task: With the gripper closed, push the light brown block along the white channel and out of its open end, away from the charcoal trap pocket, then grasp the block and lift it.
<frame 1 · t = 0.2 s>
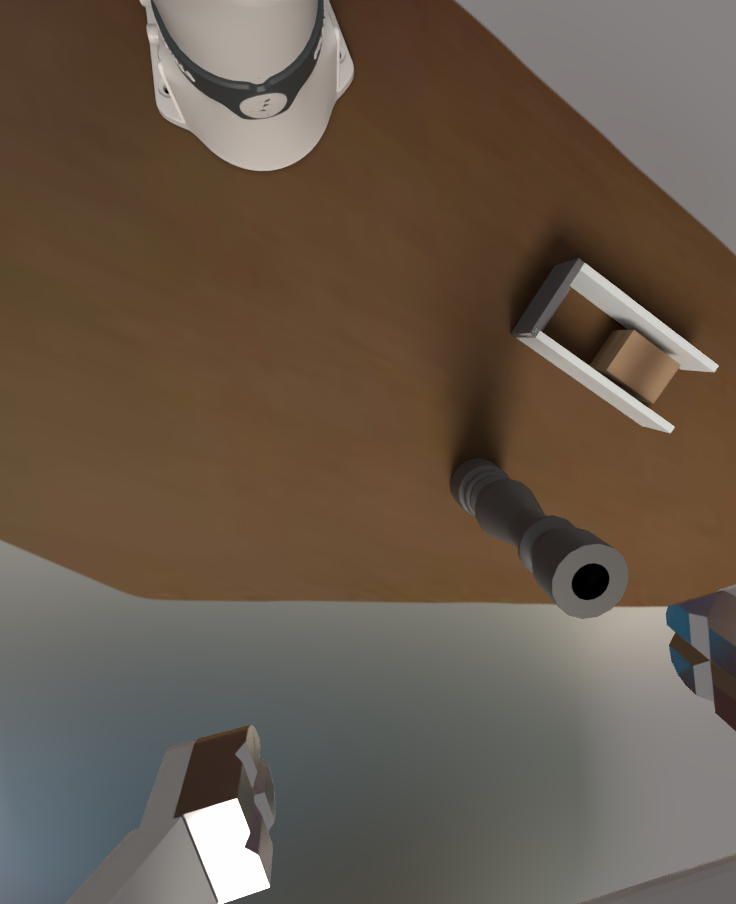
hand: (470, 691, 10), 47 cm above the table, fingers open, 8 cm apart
white channel: (600, 349, 58), on the table
candle holder: (475, 483, 60), on the table
light brown block: (621, 365, 59), resting in white channel
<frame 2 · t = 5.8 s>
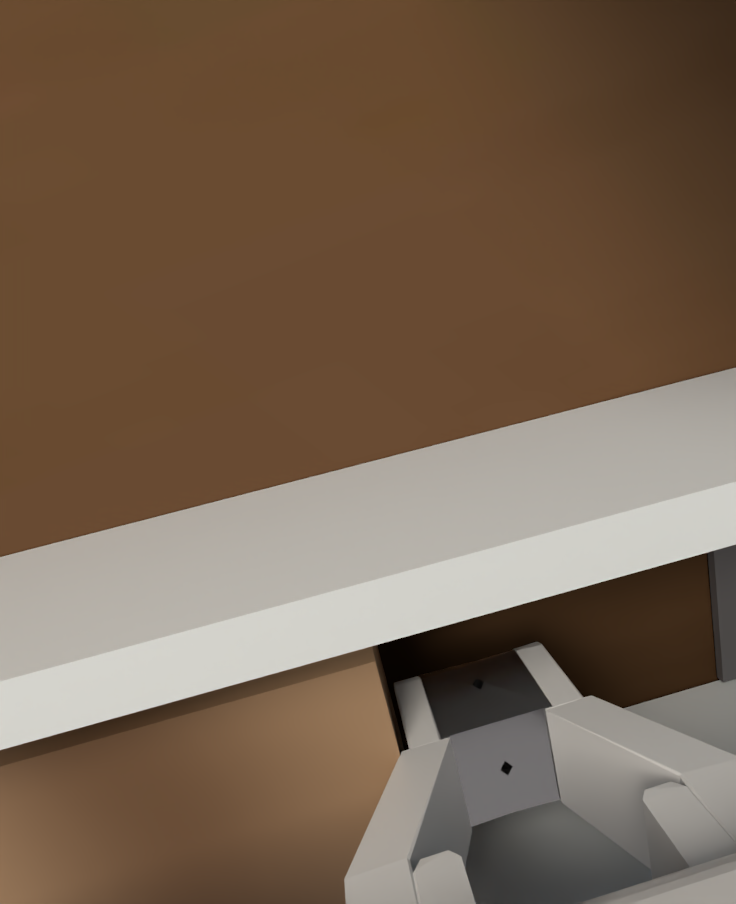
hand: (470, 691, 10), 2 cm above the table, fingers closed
white channel: (418, 637, 12), on the table
light brown block: (226, 688, 11), resting in white channel, touching gripper
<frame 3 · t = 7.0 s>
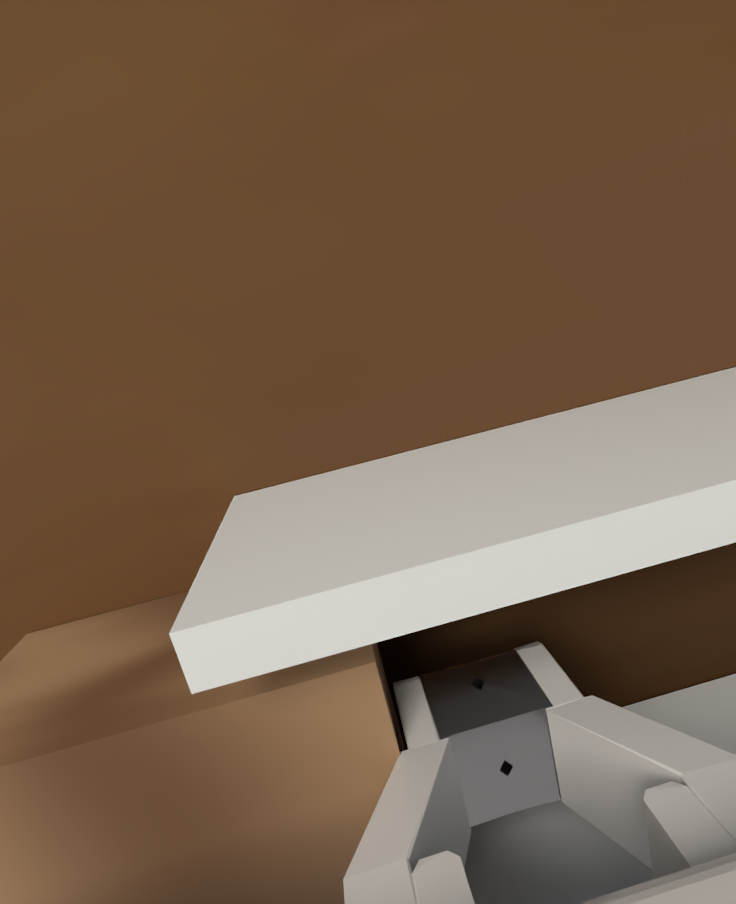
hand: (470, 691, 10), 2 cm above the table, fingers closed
white channel: (701, 557, 12), on the table
light brown block: (227, 688, 11), on the table, touching gripper
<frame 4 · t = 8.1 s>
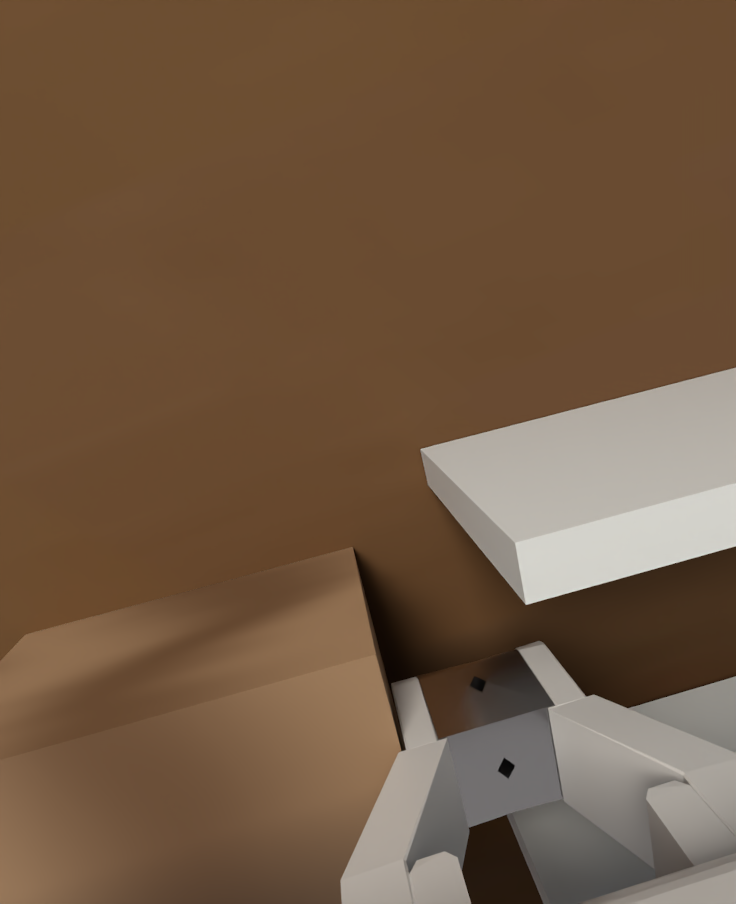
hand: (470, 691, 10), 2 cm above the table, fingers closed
light brown block: (228, 682, 12), on the table, touching gripper
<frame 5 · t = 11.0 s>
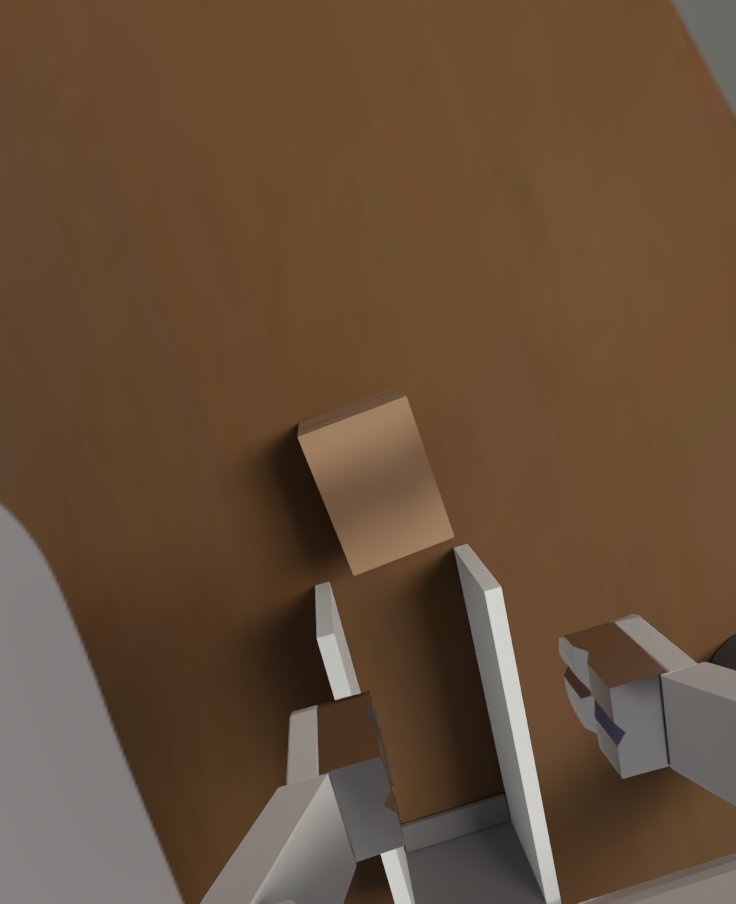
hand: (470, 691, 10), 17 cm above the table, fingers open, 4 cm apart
white channel: (428, 715, 30), on the table
light brown block: (368, 467, 27), on the table
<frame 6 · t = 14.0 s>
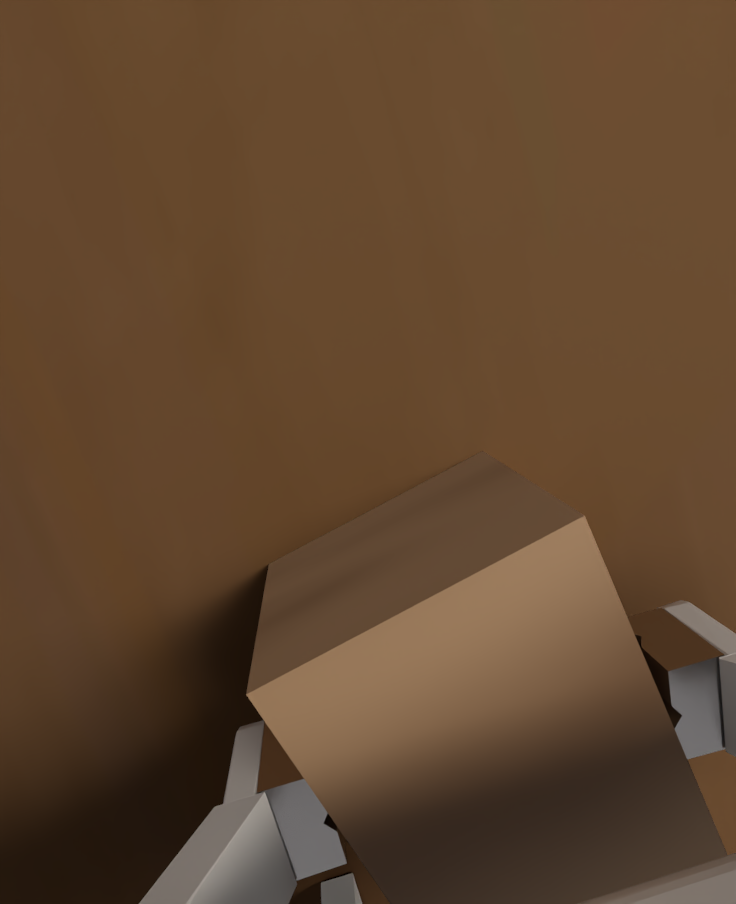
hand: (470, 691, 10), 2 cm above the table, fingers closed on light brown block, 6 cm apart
light brown block: (445, 636, 11), on the table, touching gripper
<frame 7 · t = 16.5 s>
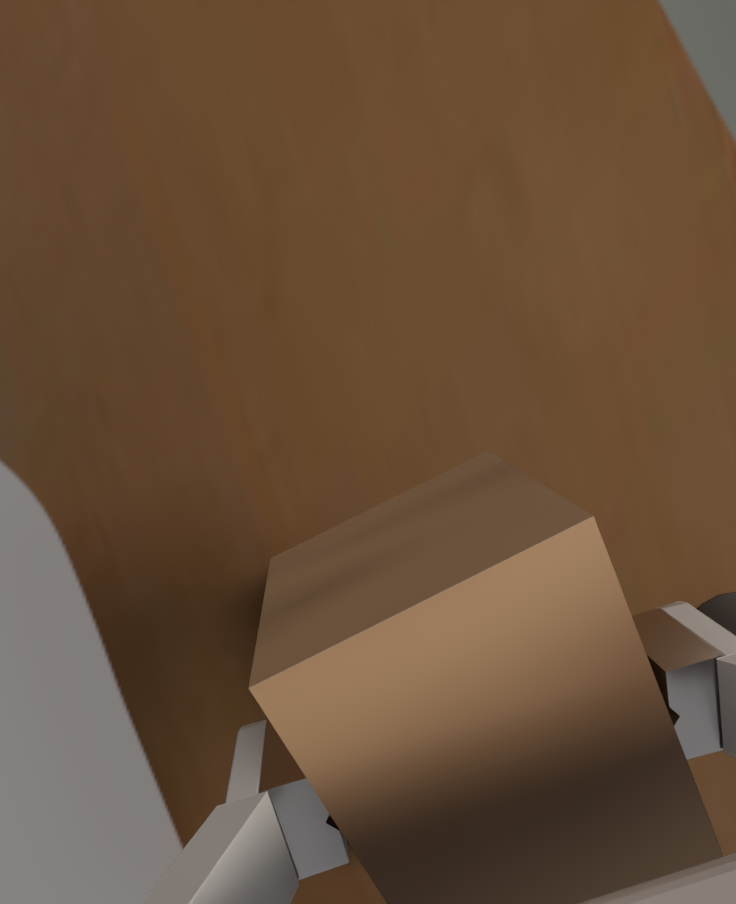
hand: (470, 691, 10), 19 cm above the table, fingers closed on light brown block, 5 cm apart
candle holder: (722, 632, 34), on the table
light brown block: (445, 636, 11), point 17 cm above the table, touching gripper
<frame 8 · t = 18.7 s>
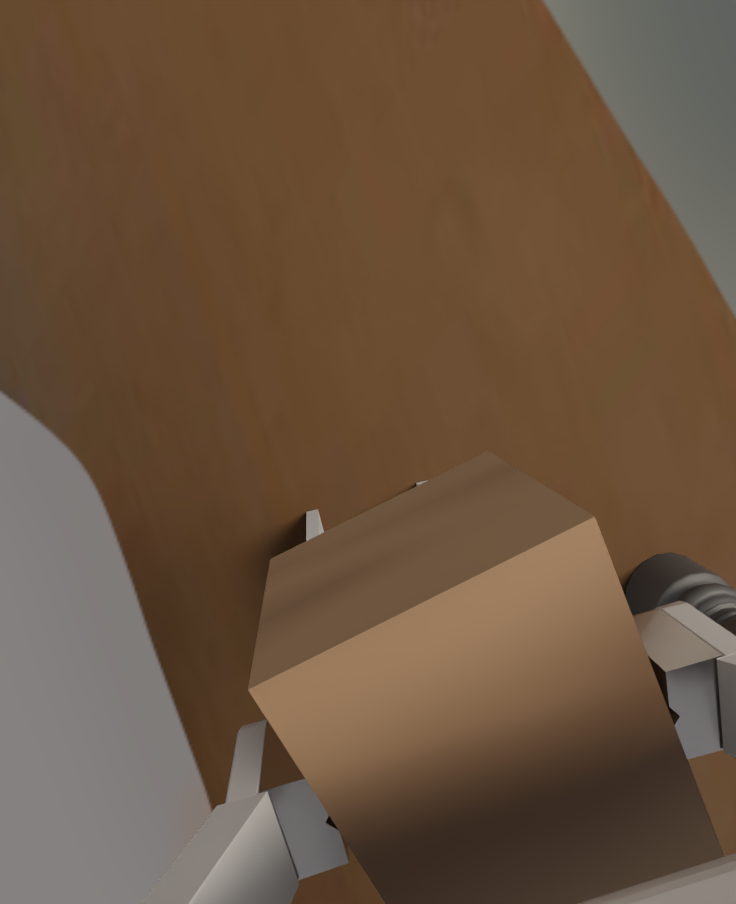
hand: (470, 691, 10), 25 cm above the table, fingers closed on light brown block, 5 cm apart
white channel: (398, 621, 37), on the table
candle holder: (660, 588, 40), on the table
light brown block: (446, 637, 11), point 23 cm above the table, touching gripper
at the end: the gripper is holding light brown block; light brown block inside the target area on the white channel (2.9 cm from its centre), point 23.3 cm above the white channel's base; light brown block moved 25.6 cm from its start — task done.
